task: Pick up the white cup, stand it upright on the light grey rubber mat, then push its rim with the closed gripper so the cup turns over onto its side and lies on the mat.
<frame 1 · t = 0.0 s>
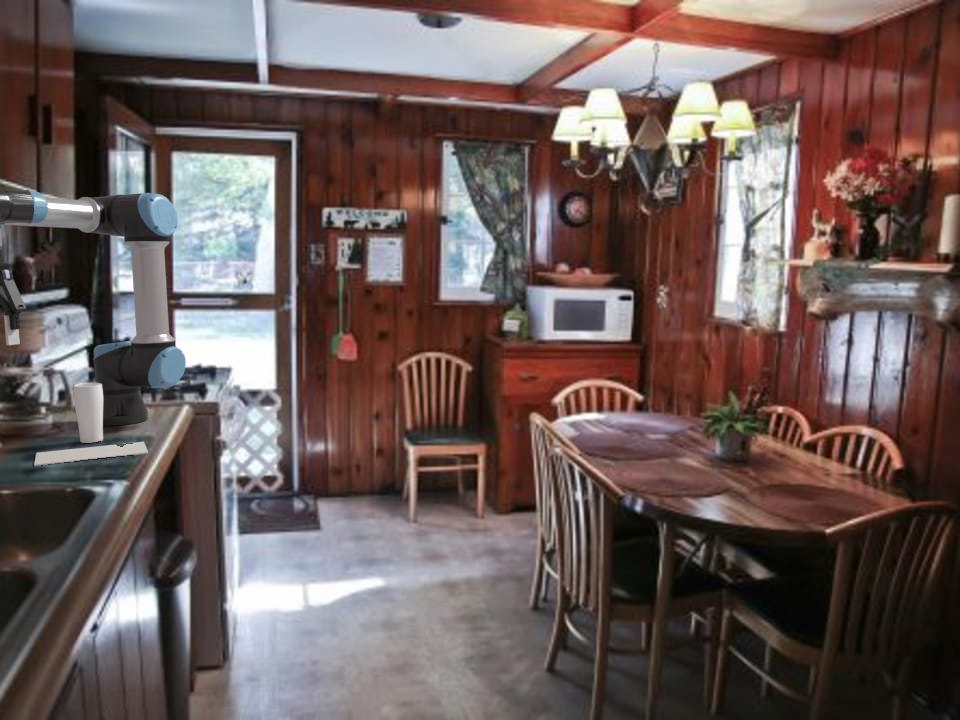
rubber mat: (92, 454, 190), on the table
white cup: (91, 442, 203), on the table
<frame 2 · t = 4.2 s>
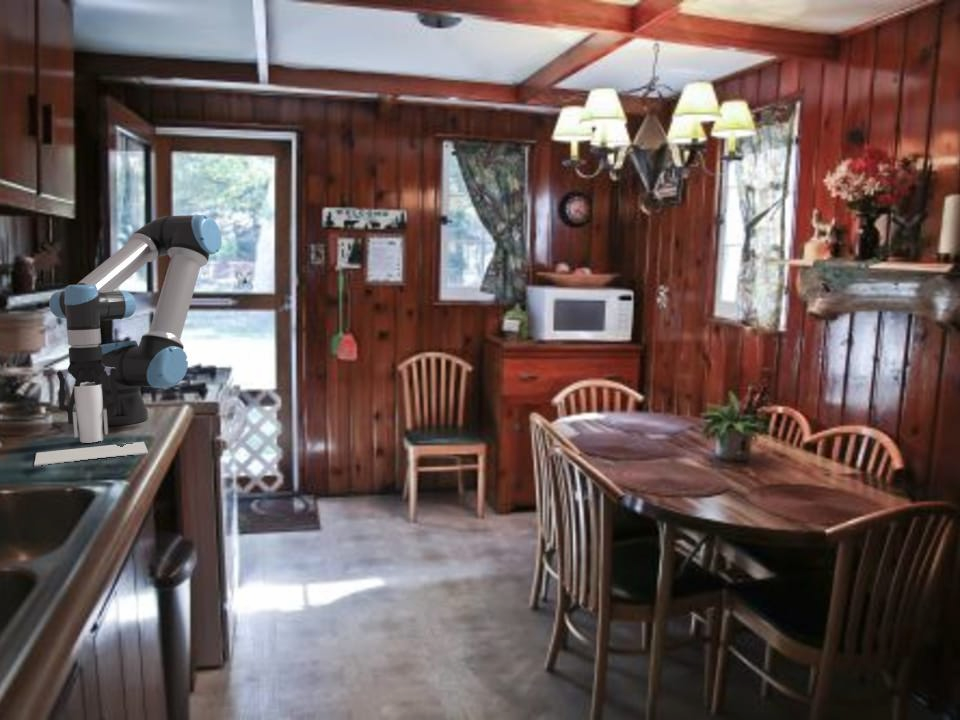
hand: (91, 434, 203), 2 cm above the table, tool pointing down, fingers closed on white cup, 6 cm apart
white cup: (91, 442, 203), on the table, touching gripper
when the fingers open (3 cm above the table, at t = 9.9 s): white cup moves 1 cm, resting on rubber mat.
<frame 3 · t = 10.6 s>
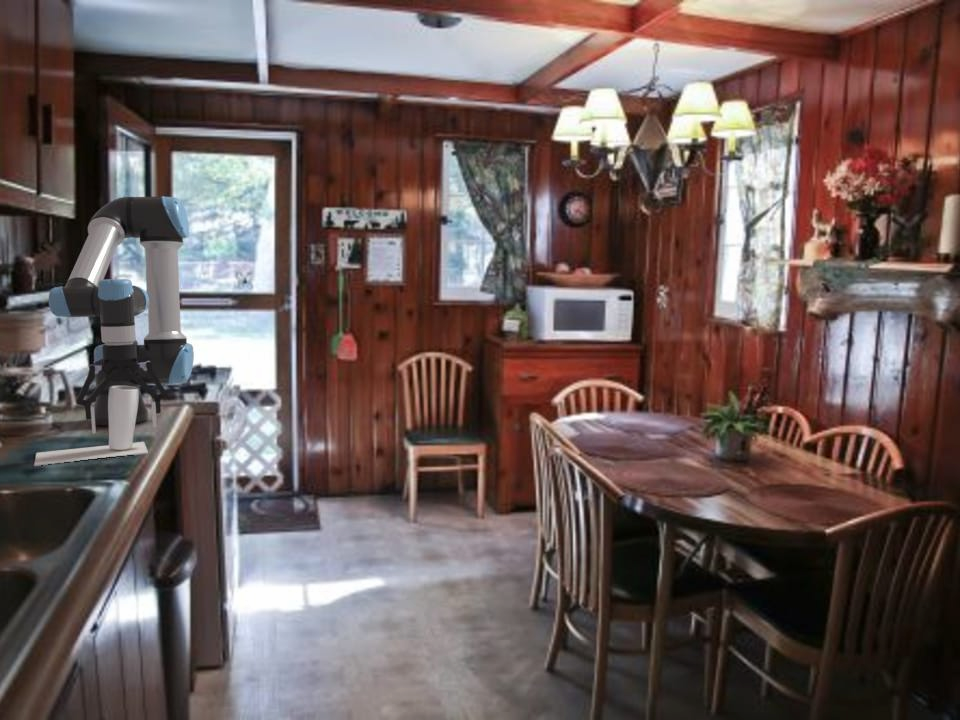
hand: (124, 429, 193), 5 cm above the table, tool pointing down, fingers open, 13 cm apart
white cup: (120, 448, 193), point 1 cm above the table, touching rubber mat
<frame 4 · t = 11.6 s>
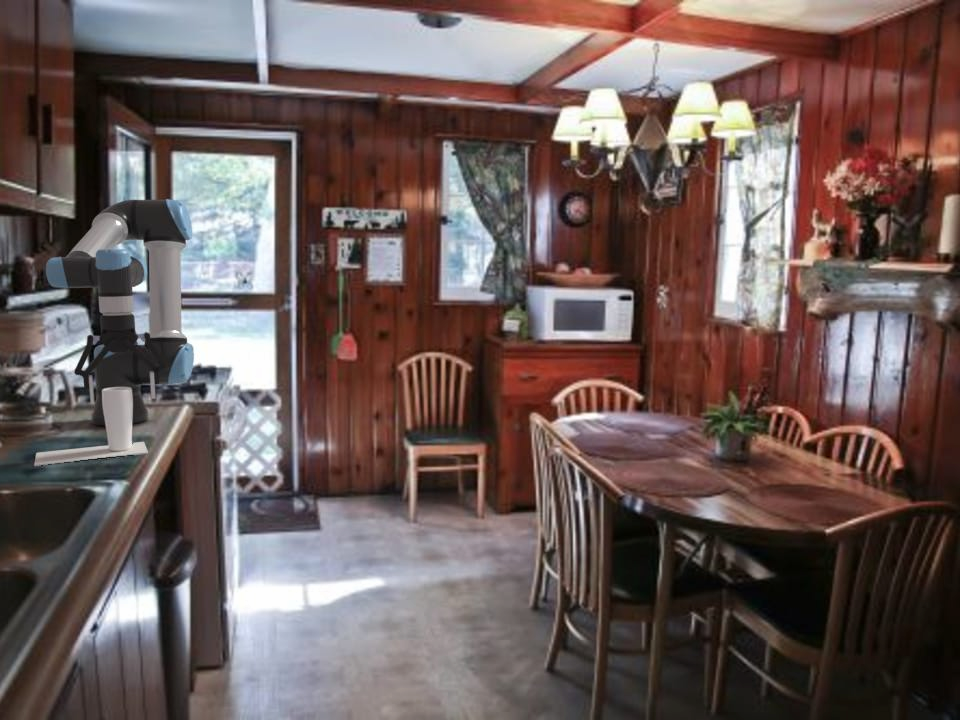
hand: (123, 400, 192), 12 cm above the table, tool pointing down, fingers open, 13 cm apart
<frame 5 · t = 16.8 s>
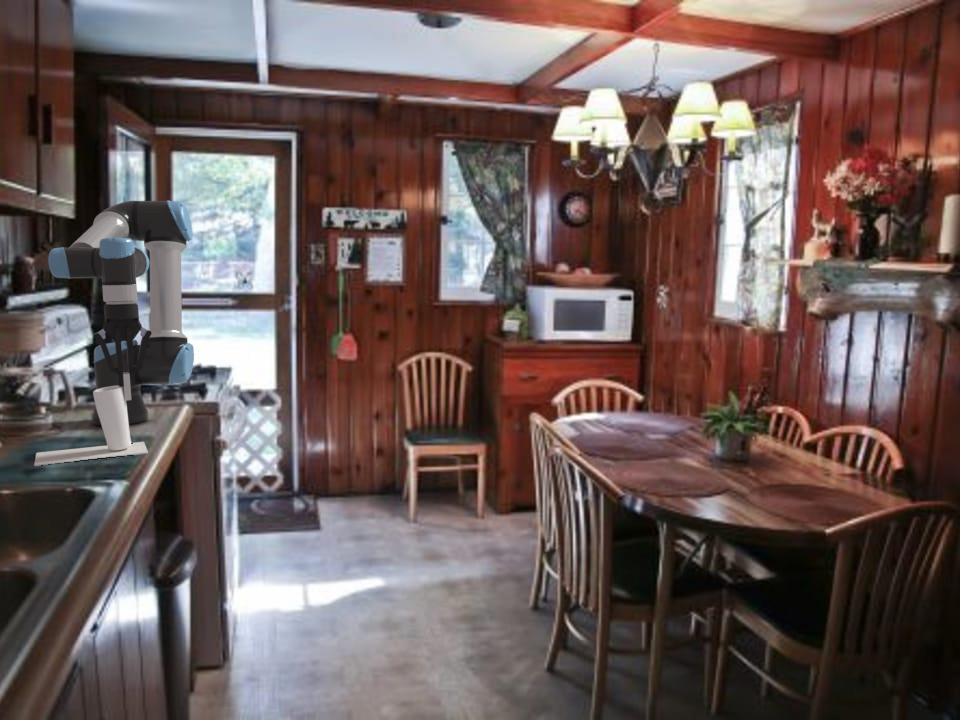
hand: (127, 399, 192), 13 cm above the table, tool pointing down, fingers closed
white cup: (120, 448, 193), point 1 cm above the table, touching gripper, rubber mat
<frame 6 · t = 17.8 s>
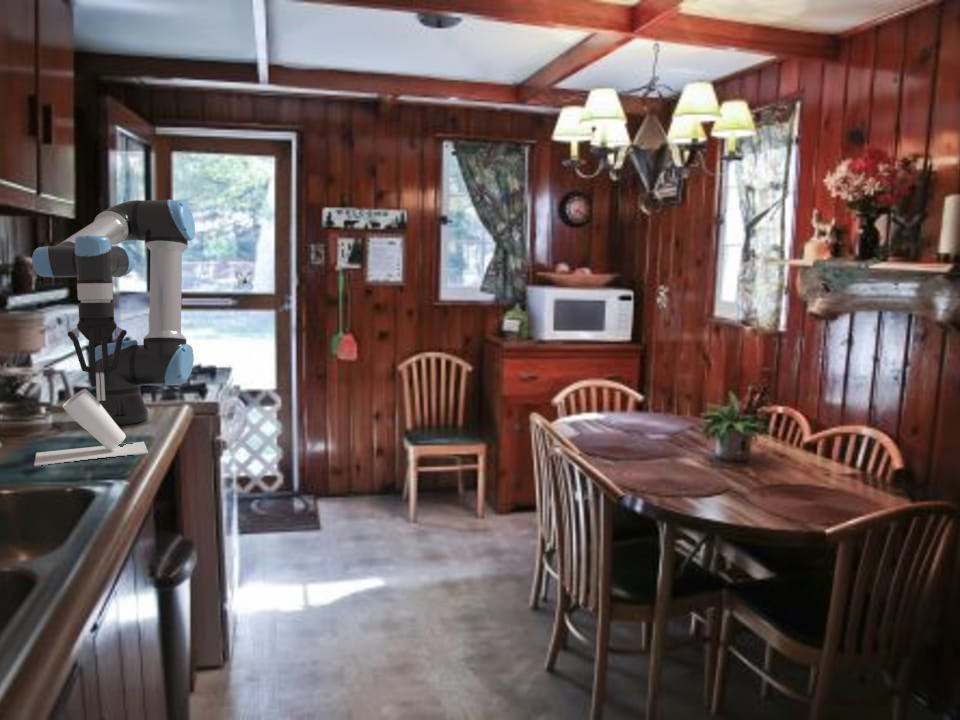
hand: (101, 399, 189), 13 cm above the table, tool pointing down, fingers closed
white cup: (118, 443, 192), point 2 cm above the table, touching gripper, rubber mat
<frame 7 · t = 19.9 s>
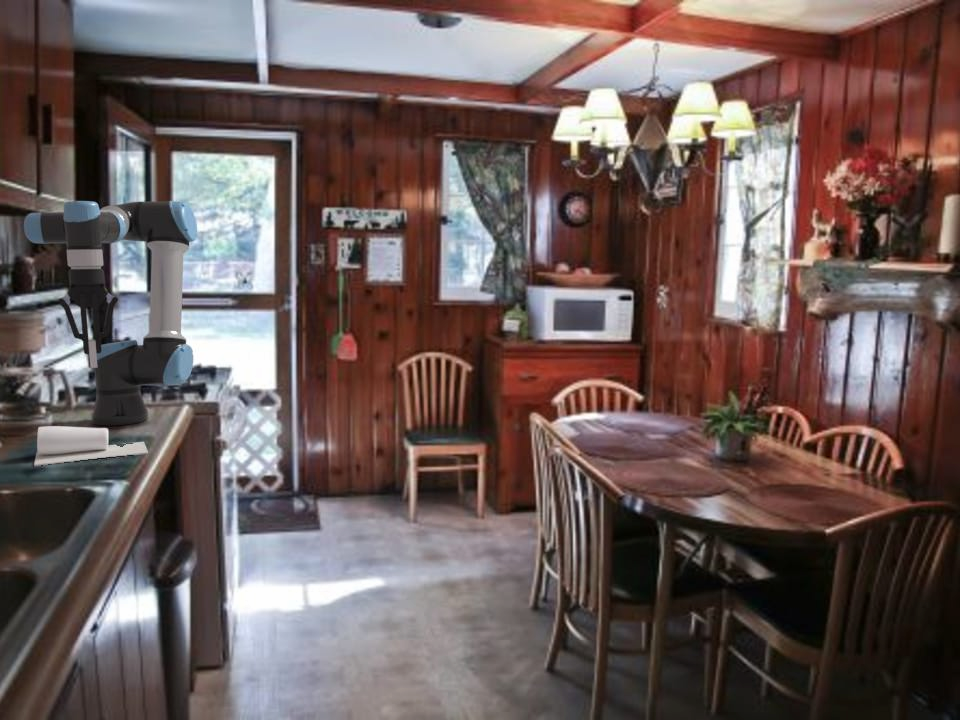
hand: (93, 367, 188), 21 cm above the table, tool pointing down, fingers closed
white cup: (109, 438, 193), point 3 cm above the table, touching rubber mat
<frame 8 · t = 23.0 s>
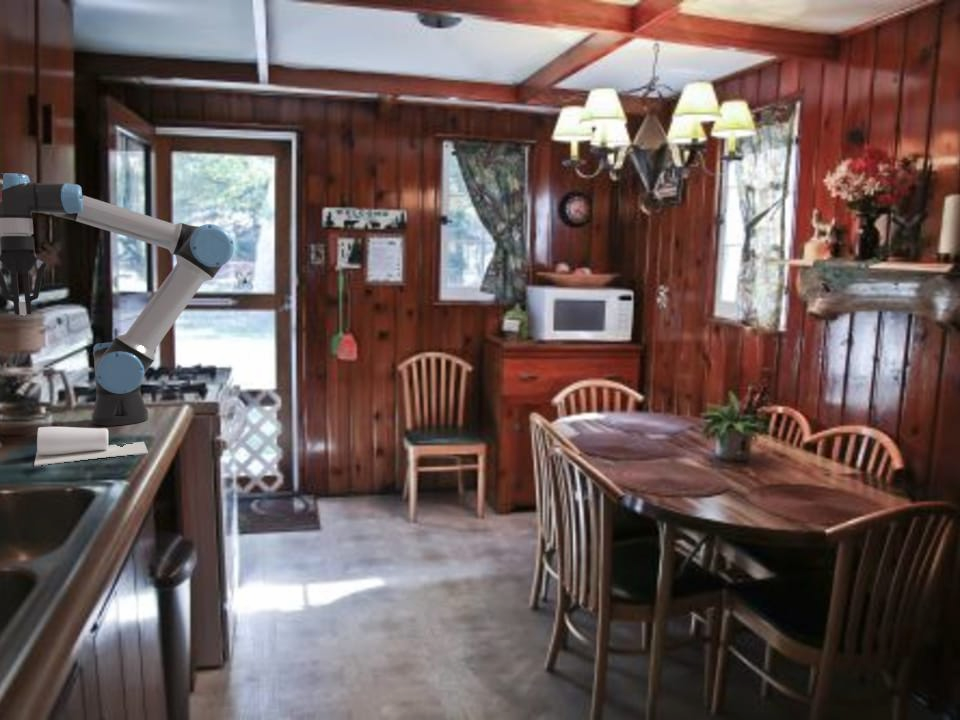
hand: (24, 327, 205), 29 cm above the table, tool pointing down, fingers closed
nothing on the table moved.
at the end: white cup tilted 86°; white cup inside the target area on the rubber mat (1.8 cm from its centre), point 3.0 cm above the rubber mat's base; the gripper is holding nothing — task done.
